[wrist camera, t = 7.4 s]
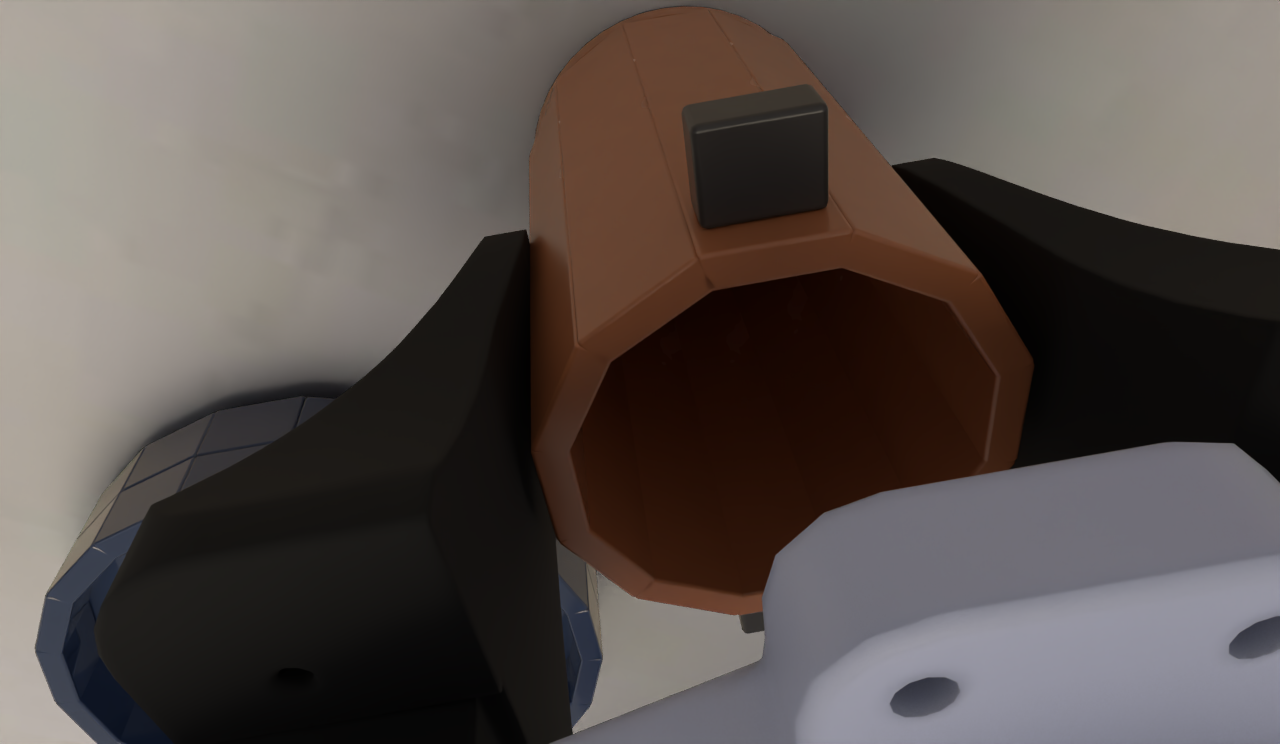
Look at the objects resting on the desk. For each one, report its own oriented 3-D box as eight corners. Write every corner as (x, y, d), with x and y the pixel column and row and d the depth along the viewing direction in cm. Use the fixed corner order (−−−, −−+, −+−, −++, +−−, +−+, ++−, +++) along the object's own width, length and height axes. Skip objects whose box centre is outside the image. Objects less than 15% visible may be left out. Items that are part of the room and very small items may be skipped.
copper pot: (821, 299, 17) (988, 619, 11) (573, 342, 17) (599, 689, 11) (817, -89, 13) (1090, 77, 7) (487, -31, 13) (450, 189, 7)
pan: (622, 658, 24) (633, 767, 22) (232, 727, 24) (197, 843, 22) (540, 338, 17) (541, 442, 15) (-8, 434, 17) (-100, 554, 15)
